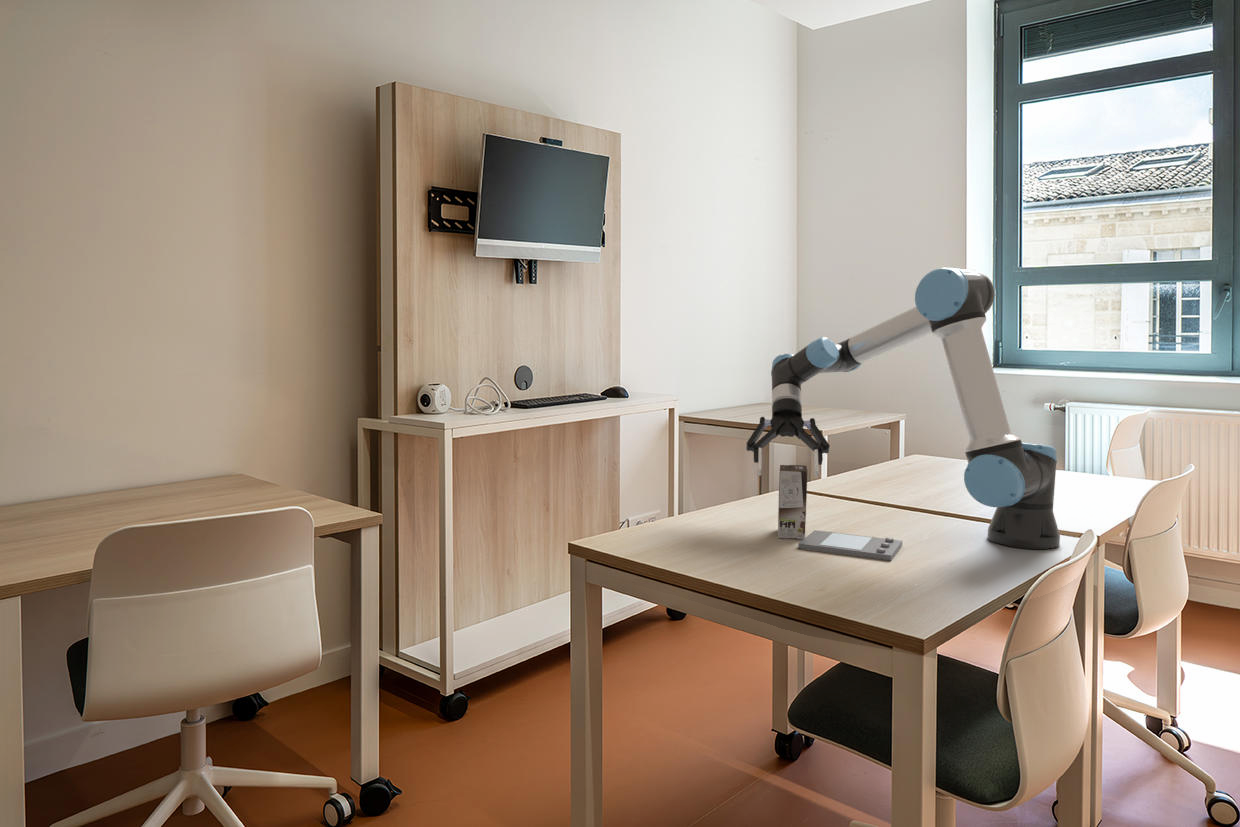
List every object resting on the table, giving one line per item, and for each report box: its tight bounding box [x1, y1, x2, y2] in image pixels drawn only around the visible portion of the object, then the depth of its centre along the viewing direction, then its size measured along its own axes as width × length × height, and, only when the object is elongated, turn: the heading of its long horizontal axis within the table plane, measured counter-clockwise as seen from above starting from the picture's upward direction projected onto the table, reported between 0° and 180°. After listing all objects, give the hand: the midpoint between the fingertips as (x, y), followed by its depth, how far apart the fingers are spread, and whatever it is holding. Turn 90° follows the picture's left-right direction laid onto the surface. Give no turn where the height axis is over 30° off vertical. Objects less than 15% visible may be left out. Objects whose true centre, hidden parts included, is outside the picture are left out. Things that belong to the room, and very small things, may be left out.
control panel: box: [797, 529, 903, 561], centre depth 192 cm, size 20×14×2 cm
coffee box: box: [777, 464, 808, 540], centre depth 202 cm, size 9×6×16 cm
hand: (788, 473), depth 208 cm, fingers open, 13 cm apart
